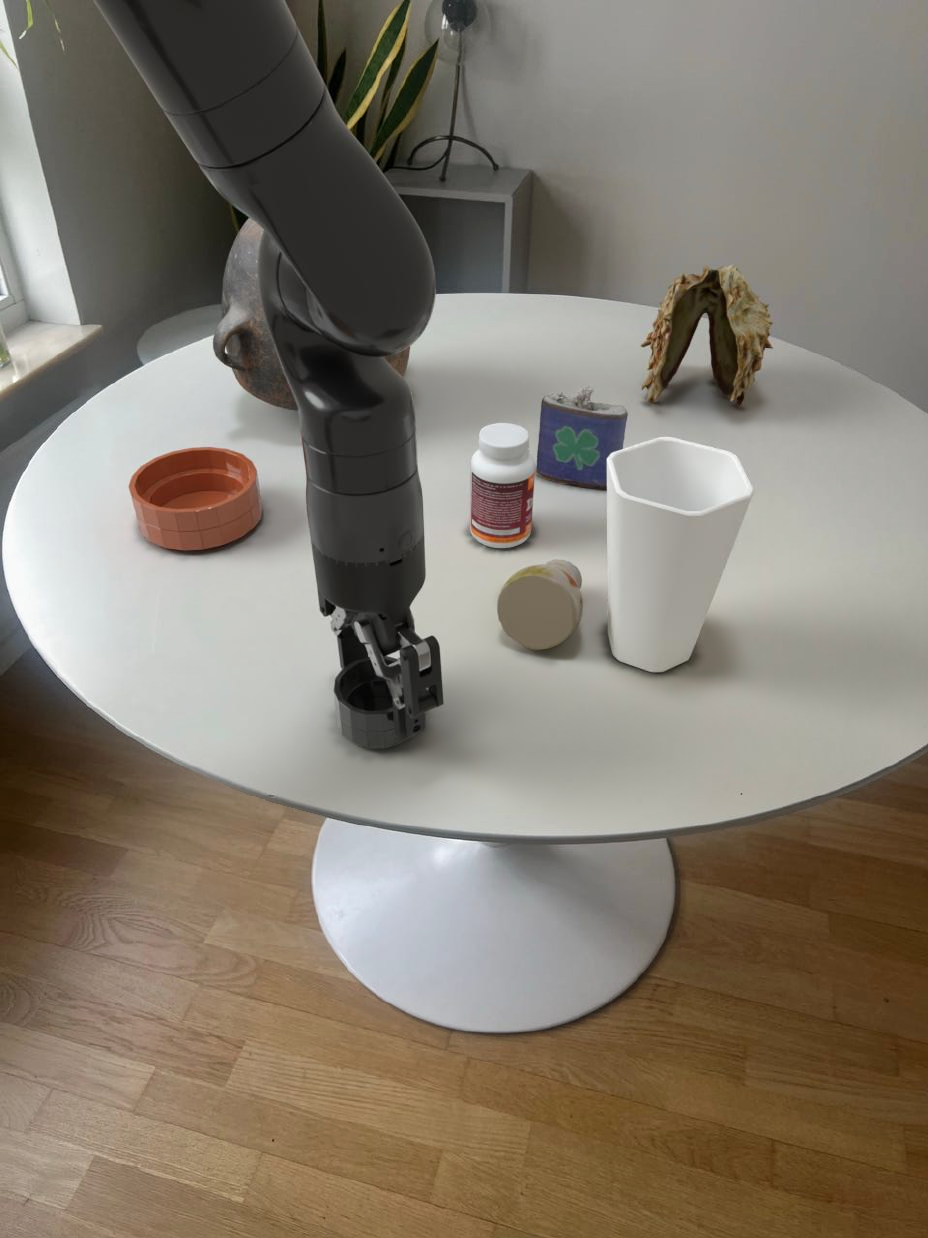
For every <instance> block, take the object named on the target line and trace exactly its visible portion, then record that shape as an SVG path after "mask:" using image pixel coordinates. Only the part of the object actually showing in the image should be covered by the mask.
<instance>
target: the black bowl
mask: <svg viewBox="0 0 928 1238" xmlns="http://www.w3.org/2000/svg"><path fill="white" fill-rule="evenodd" d="M383 659H384V661H385V663H386V665H390V664H392V663H394V662H397V661H398V658H396V657H392V656H389V655H387V656H384V657H383ZM398 681H399V684H400V686H401V689H403V682H402V673H401V674H399V675H398ZM333 697H334V705H335V713H336V714H335V715H336V722H337V726H338V729H339V730H340V733H341V735H342V736H343V737H344V738H345V739H347V740H348V741H349V742H350V743H351V744H354V745H356V746H358V747H362V748H366V749H372V750H381V749H388V748H391V747H395V746H398V745H401V744H402V743H403V742H405V741H406V740H400V739H399V738H398V736H397V735H396V734H395V729H394V715H393V702H392V701H393V699H392V696H391V693H390V691H389V688H388V685H387V683H386V681H385V680H384V679H380V678H378V677H377V675H376V673H375V670H374V667H373V665H372V662H371V660H370V657H366V658H362V659H359V660H356V661H354V662H352V663H350V664H349V665H347V666H346V667H344V668H343V669H342V668H341V670H340V671H339V673H338V674H337V676H336V677H335V679H334V684H333Z"/></svg>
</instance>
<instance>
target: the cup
mask: <svg viewBox="0 0 928 1238" xmlns="http://www.w3.org/2000/svg"><path fill="white" fill-rule="evenodd" d="M754 493H755V489H754V487H753V485H752V483H751V481H750V479H749V477H748V475H747V473H746V470H745V469H744V466H743V464H742V463H741V461H740V458H739V456H737V455H736V454H734V453H733V452H731V451H729V450H725V449H721V448H717V447H712V446H708V445H704V444H701V443H697V442H693V441H689V440H685V439H681V438H676V437H673V436H659V437H656V438H653V439H649V440H646V441H643V442H641V443H637V444H634V445H631V446H627V447H625V448H623V449H621V450H618V451H615V452H612V453H611V454H610V455H609V457H608V458H607V489H606V551H607V552H606V555H607V556H606V559H607V560H606V562H607V563H606V564H607V565H606V567H607V568H606V571H607V572H606V573H607V576H606V577H607V583H606V585H607V586H606V587H607V636H608V641H609V645H610V651H611V654H612V656H613V657H614V658H615V659H616V660H618V661H619V662H621V663H624V664H626V665H629V666H631V667H632V666H633V667H635V668H638V669H640V670H643V671H646V672H648V673H649V672H650V673H664V672H666V671H668V670H670V669H672V668H674V667H676V666H678V665H680V664H681V665H682V664H683V663H685V662H688V661H689V659H690V658H691V656H692V654H693V651H694V649H695V646H696V643H697V641H698V638H699V636H700V633H701V632H702V631H701V630H702V628H703V625H704V623H705V620H706V619H707V618H706V617H707V615H708V612H709V609H710V608H711V604H712V603H713V600H714V598H715V597H714V596H715V594H716V591H717V589H718V587H719V584H720V582H721V578H722V576H723V573H724V571H725V569H726V566H727V563H728V560H729V558H730V555H731V552H732V550H733V548H734V545H735V543H736V539H737V537H738V534H739V532H740V529H741V527H742V524H743V521H744V519H745V516H746V514H747V511H748V509H749V506H750V503H751V502H752V501H751V500H752V498H753V495H754Z"/></svg>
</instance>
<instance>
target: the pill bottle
mask: <svg viewBox="0 0 928 1238" xmlns="http://www.w3.org/2000/svg"><path fill="white" fill-rule="evenodd" d="M477 445H478V449H477V450H476V451H475V452H474V454H473V455H472V456H471V461H470V482H469V483H470V488H469V489H470V491H469V492H470V494H469V497H470V498H469V531H470V534H471V536H472V537H473V539H475V540H476V541H477V542H478V543H480V544H481V545H484V546H486V547H489V548H494V549H509V548H513V547H516V546H520V545H522V544H523V543H525V542H526V541H527V540H528V539H529V537H530V536H531V533H532V532H531V531H532V527H533V525H532V524H533V507H534V491H535V478H536V460H535V457H534V456H533V454H532V453H531V452H530V451H529V448H530V434H529V432H528V430H527V429H525V427H523V426H520V425H518V424H515V423H510V422H496V423H491V424H487V425H486V426H484V427H482V429H481V430H480V431H479V434H478V444H477Z"/></svg>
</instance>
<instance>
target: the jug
mask: <svg viewBox="0 0 928 1238" xmlns="http://www.w3.org/2000/svg"><path fill="white" fill-rule="evenodd" d="M263 231H264V229H263V228H262V227H260V226H259V225H258V224H257V223H256V222H255V221H253V220H252V219H251V218H250V217H248V218H247V220H246V221H245V222H244V223H243V225H242V226H241V228H240V230H239V232H237V235H236V237H235V239H234V241H233V244H232V246H231V248H230V251H229V253H228V256H227V260H226V263H225V267H224V271H223V277H222V291H221V321H220V322H219V323H218V325H217V327H216V328H215V330H214V333H213V334H214V335H213V338H212V349H213V353H214V356H215V358H217V359H218V361H220V362H221V363H222V364H224V365H225V366H227V367H228V368H231V371H232V373H233V375H234V378H235V380H236V381H237V383H238V384H239V385H240V387H242V389H244V390H245V391H246V392H247V393H248V394H250V395H251V396H253V397H255V398H257V399H258V400H261V401H263V402H265V403H267V404H269V405H271V406H274V407H277V408H281V409H284V410H285V409H286V410H290V411H298V412H299V410H298V407H297V404H296V401H295V398H294V396H293V393H292V391H291V388H290V386H289V384H288V382H287V379H286V377H285V374H284V372H283V369H282V366H281V363H280V360H279V357H278V354H277V351H276V348H275V346H274V343H273V340H272V337H271V334H270V331H269V328H268V325H267V322H266V319H265V315H264V312H263V308H262V304H261V300H260V294H259V288H258V280H257V260H258V250H259V245H260V241H261V237H262V234H263ZM410 351H411V346H409V347H408V348H406V349H404V350H403V351H401V352H399V353H396V354H393V355H389V356H384V358H385V359H386V361H387V362H388V363H389V364H390V365H391V366H392V367H393V368H394V369H395V370H396V371H397V372H398V373H399V374H400V375H401V376H402V377H403V378H404V376H405V374H406V370H407V367H408V362H409V359H410V353H411V352H410Z"/></svg>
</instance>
